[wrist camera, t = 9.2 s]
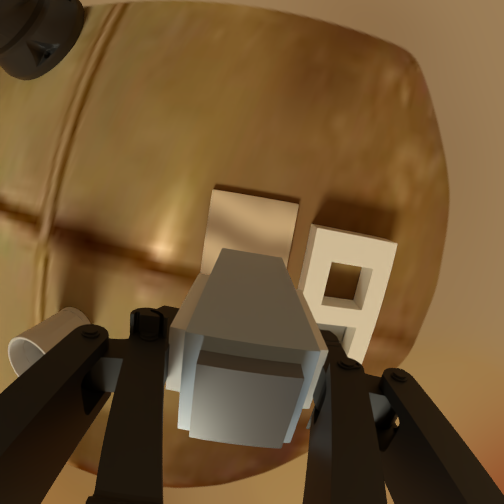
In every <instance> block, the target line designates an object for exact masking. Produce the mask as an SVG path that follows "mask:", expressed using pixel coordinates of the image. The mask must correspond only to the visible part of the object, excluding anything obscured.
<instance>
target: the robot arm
mask: <svg viewBox="0 0 504 504" xmlns="http://www.w3.org/2000/svg"><path fill="white" fill-rule="evenodd" d="M83 21H84V9H83V6H82V4H81V2H80V1H79V0H0V66H1V67H2V68H3V69H4V70H5V71H6V72H7V73H8V74H9V75H11V76H13V77H15V78H18V79H21V80H31V79H35V78H38V77H40V76H42V75H44V74H45V73H47V72H48V71H50V70H51V69H52V68H54V67H55V66H56V65H57V64H58V63H59V62H60V61H61V60H62V59H63V58H64V57H65V56H66V54H67V53H68V52H69V51H70V49H71V48H72V46H73V45H74V43H75V41H76V40H77V38H78V36H79V34H80V31H81V29H82V25H83ZM209 276H210V275H205V274H199V275H198V276H197V278H196V280H195V282H194V284H193V285H192V287H191V289H190V291H189V293H188V294H187V296H186V298H185V300H184V302H183V303H182V305H181V307H180V309H179V308H174V307H169V306H162V307H160V308H158V309H153V308H138V309H135V310H133V311H132V312H131V313H130V336H129V339H109V334H108V331H107V330H106V329H105V328H103V327H101V326H98V325H94V324H85V325H81V326H79V327H77V328H75V329H74V330H73V331H71V332H70V333H69V334H68V335H67V336H66V337H64V338H63V339H62V340H61V341H60V342H58V343H57V344H56V345H55V346H54V347H53V348H51V349H50V350H49V351H48V352H47V353H46V354H44V355H43V356H42V357H41V358H40V359H39V360H37V361H36V362H35V363H34V364H33V365H32V366H31V367H30V368H28V369H27V370H26V371H25V372H24V373H23V374H22V375H20V376H19V377H18V378H17V379H16V380H15V381H14V382H13V383H12V384H10V385H9V386H8V387H7V388H6V389H5V390H4V391H3V392H2V393H1V394H0V504H41V502H42V501H43V499H44V497H45V496H46V494H47V492H48V491H49V489H50V488H51V486H52V484H53V483H54V481H55V480H56V478H57V476H58V475H59V473H60V472H61V470H62V468H63V467H64V465H65V464H66V462H67V461H68V459H69V458H70V456H71V454H72V453H73V451H74V450H75V448H76V447H77V445H78V444H79V442H80V441H81V439H82V437H83V436H84V434H85V433H86V431H87V430H88V428H89V427H90V425H91V424H92V422H93V421H94V419H95V418H96V416H97V415H98V413H99V412H100V410H101V409H102V407H103V406H104V404H105V403H106V401H107V400H108V398H109V397H110V395H111V392H114V396H113V400H112V404H111V409H110V413H109V418H108V422H107V427H106V431H105V436H104V441H103V446H102V451H101V457H100V462H99V468H98V474H97V480H96V486H95V491H94V494H93V496H89V497H88V499H87V501H86V504H163V470H162V438H163V398H164V384H165V382H166V389H169V390H173V391H178V392H180V385H181V373H182V361H183V350H184V339H185V331H186V329H187V327H188V324H189V322H190V320H191V317H192V315H193V313H194V310H195V308H196V306H197V303H198V301H199V299H200V297H201V294H202V292H203V290H204V288H205V285H206V283H207V281H208V279H209ZM295 290H296V293H297V295H298V297H299V300H300V302H301V305H302V307H303V310H304V312H305V314H306V317H307V319H308V322H309V324H310V327H311V329H312V332H313V334H314V336H315V339H316V341H317V344H318V346H319V349H320V351H321V352H320V355H319V359H318V362H317V365H316V368H315V372H314V375H313V378H312V381H311V384H310V387H309V390H308V393H307V396H306V399H305V402H304V405H303V408H304V409H309V408H310V405H311V402H312V399H314V403H315V407H314V409H313V412H312V415H311V417H310V420H309V422H308V425H307V428H306V429H309V428H310V439H309V450H308V461H307V471H306V481H305V489H304V497H303V504H387V499H386V490H385V484H386V486H387V488H388V490H389V492H390V495H391V497H392V499H393V501H394V504H504V495H503V494H502V492H501V491H500V490H499V488H498V487H497V485H496V484H495V482H494V481H493V480H492V478H491V477H490V476H489V474H488V473H487V471H486V470H485V469H484V467H483V466H482V465H481V463H480V462H479V461H478V459H477V458H476V457H475V455H474V454H473V453H472V451H471V450H470V449H469V447H468V446H467V445H466V443H465V442H464V441H463V439H462V438H461V437H460V436H459V434H458V433H457V432H456V430H455V429H454V428H453V427H452V425H451V424H450V423H449V421H448V420H447V419H446V418H445V416H444V415H443V414H442V412H441V411H440V410H439V409H438V407H437V406H436V405H435V404H434V403H433V401H432V400H431V399H430V397H429V396H428V395H427V394H426V392H424V390H423V389H422V387H421V386H420V385H419V384H418V383H417V381H416V380H415V379H414V378H413V376H411V375H410V374H409V373H407V372H405V371H404V370H402V369H399V368H388V369H386V370H384V372H383V375H382V377H377V376H372V375H368V374H365V373H364V368H363V366H362V365H361V364H360V363H359V362H358V361H356V360H354V359H352V358H348V357H347V355H346V353H345V351H344V349H343V347H342V345H341V343H339V342H340V341H339V340H338V338H337V336H336V335H335V334H333V333H332V332H331V331H329V330H321V329H319V328H318V326H317V323H316V321H315V319H314V317H313V315H312V312H311V310H310V308H309V306H308V303H307V301H306V299H305V297H304V295H303V292H302V290H297V289H295ZM397 417H399V422H400V424H399V426H398V427H397V425H396V424H395V421H396V419H397ZM310 426H311V427H310ZM384 481H385V483H384Z"/></svg>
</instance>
